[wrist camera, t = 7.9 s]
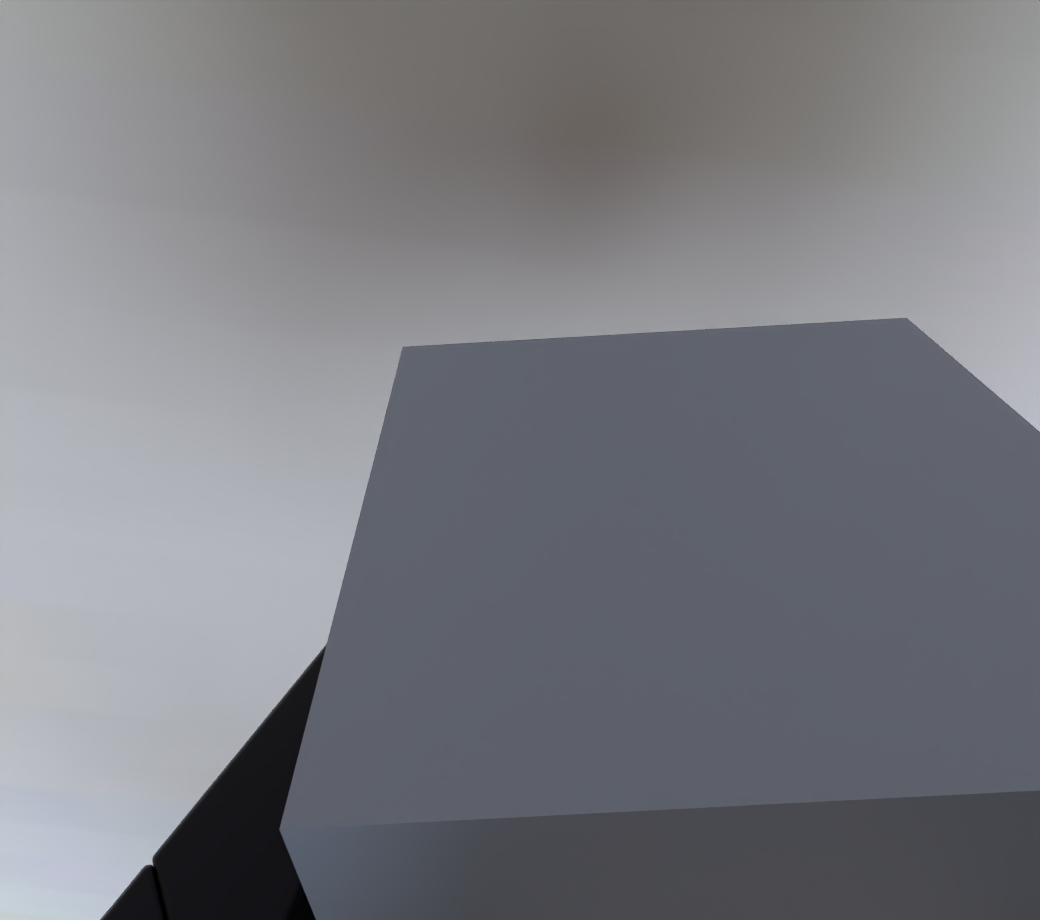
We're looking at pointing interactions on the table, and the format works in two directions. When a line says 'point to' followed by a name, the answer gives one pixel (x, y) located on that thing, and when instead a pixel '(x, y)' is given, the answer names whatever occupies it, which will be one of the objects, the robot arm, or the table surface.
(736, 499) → the slate blue block
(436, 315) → the table surface
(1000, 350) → the table surface
